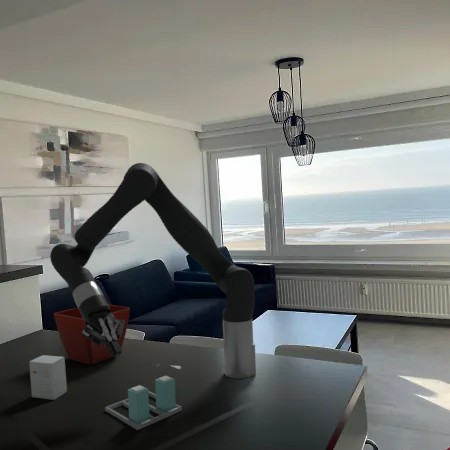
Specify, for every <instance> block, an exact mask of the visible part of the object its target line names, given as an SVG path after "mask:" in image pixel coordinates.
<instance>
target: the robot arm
mask: <svg viewBox="0 0 450 450" xmlns="http://www.w3.org/2000/svg"><path fill="white" fill-rule="evenodd" d="M144 201H145V202H146V203H147V204H148V205H149V206H150V207H151V208H152V209H153V210H154V211H155V212H156V214H157V215H158V217H159V219H160V220H161V222H162V224H163V225H164V227H165V229H166V230H167V232H168V234H169V235H170V236H171V238H172V239H173V240H174V241H175V242H176V243H177V245H179V246H180V248H182V249H183V251H185V252H186V253H187V254H188V255H189V256H190V257H191V258H192V259H193V260H194V261H196V262H197V263H198V264H199V265H201V267H202V268H203V269H204V270H205V271H206V272H207V273H208V275H209V276H210V277H211V278H212V280H213V281H214V283H215V284H216V286H217V287H218V288H219V289H220V291H221V292H223V293H224V294H226V307H225V308H223V310H222V334H223V335H222V337H223V338H222V340H223V364H224V366H223V369H224V375H225V376H226V377H228V378H231V379H239V380H240V379H247V378H250V377H252V376H256V375H257V368H256V367H257V366H256V365H257V363H256V344H255V343H254V333H253V332H254V330H253V329H254V328H253V313H254V310H255V306H256V305H255V300H256V299H255V295H256V294H255V293H256V292H255V291H256V289H255V279H254V276H253V274H252V273H251V272H250V271H249V270H248V269H247V268H243V267H241V266H237V265H236V264H234V263H233V262H232V261H231V260H230V259H228V258H227V257H226V256H225V255H224V254H223V253H222V251H221V250H220V248H219V247H218V246H217V243H216V242H215V240H214V238H213V235H212V234H211V233H210V231H209V230H208V229H207V227H206V226H205V225H204V224H203V223H202V221H200V220H199V219H198V217H196V215H195V214H194V213H193V212H191V210H190V209H189V208H188V206H186V205H185V204H184V203H183V202H182V201H180V200H179V199H178V197H177V196H175V195H174V194H173V192H172V191H171V190H170V188H169V187H168V186H167V184H166V183H165V181H164V180H163V179H162V177H161V176H160V175H159V173H158V172H157V170H155V168H153V167H152V165H149V164H147V163H144V162H143V163H142V162H137V163H134V164H132V165H131V166H130V167H129V168H128V169H127V171H126V172H125V174H124V176H123V179H122V181H121V183H120V184H119V185H118V187H117V188H116V191H114V193H113V194H112V196H111V197H110V198H109V199H108V200H107V201H106V202H105V203H104V204H103V205H102V206H101V207H100V208H99V209H97V210H96V211H95V212H93V213H92V214H91V216H90V217H89V218H87V219H86V221H84V223H83V224H82V225H81V226H79V228H78V229H77V230H76V232H75V233H74V240H75V242H76V245H71V244H67V243H59V244H56V245H55V246H53V247H52V249H51V251H50V256H49V257H50V263H51V264H52V267H53V268H54V269H55V271H56V272H57V273H58V275H59V276H60V277H61V278H62V279H63V280H64V281H65V282H66V283H67V285H68V288H69V290H70V292H71V294H72V297H73V299H74V302H75V305H76V306H77V307H76V308H78V309H79V311H80V313H81V315H82V317H83V320H84V321H85V322H86V327H85V329H84V330H83V332H82V335H83V336H84V337H86V338H87V339H89V340H90V341H92V342H94V343H95V344H97V345H99V346H101V345H105V346H106V347H107V349H108V351H109V353H110V355H111V356H113V357H112V358H117V357H120V356H121V355H122V350H123V349H122V348H121V347H120V345H119V343H118V340H119V339H120V337H121V336H122V332H123V328H124V323H125V321H124V320H121V321H119V320H117V319H115V317H114V316H113V315H112V314H111V310H110V307H109V305H110V304H109V303H108V301H107V298H105V295H104V293H103V292H102V290H101V288H100V287H99V285H98V284H97V283H96V280H95V278H94V276H93V273H92V272H91V271H90V270H89V269H88V268H87V267H85V266H86V265H87V263H88V262H89V261H90V259H91V256H92V254H93V253H94V251H95V249H96V247H97V246H98V245H99V244H100V243H101V242H102V241H103V240H104V239H105V237H107V235H109V234H110V232H111V231H112V230H114V227H116V226H117V225H118V224H119V222H120V221H122V220H123V218H124V217H126V215H128V213H130V212H131V211H132V210H133V209H135V208H136V207H137V206H139V205H140V204H141V203H143V202H144ZM114 324H115V328H114ZM115 329H116V332H115ZM98 339H99V340H98Z"/></svg>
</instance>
